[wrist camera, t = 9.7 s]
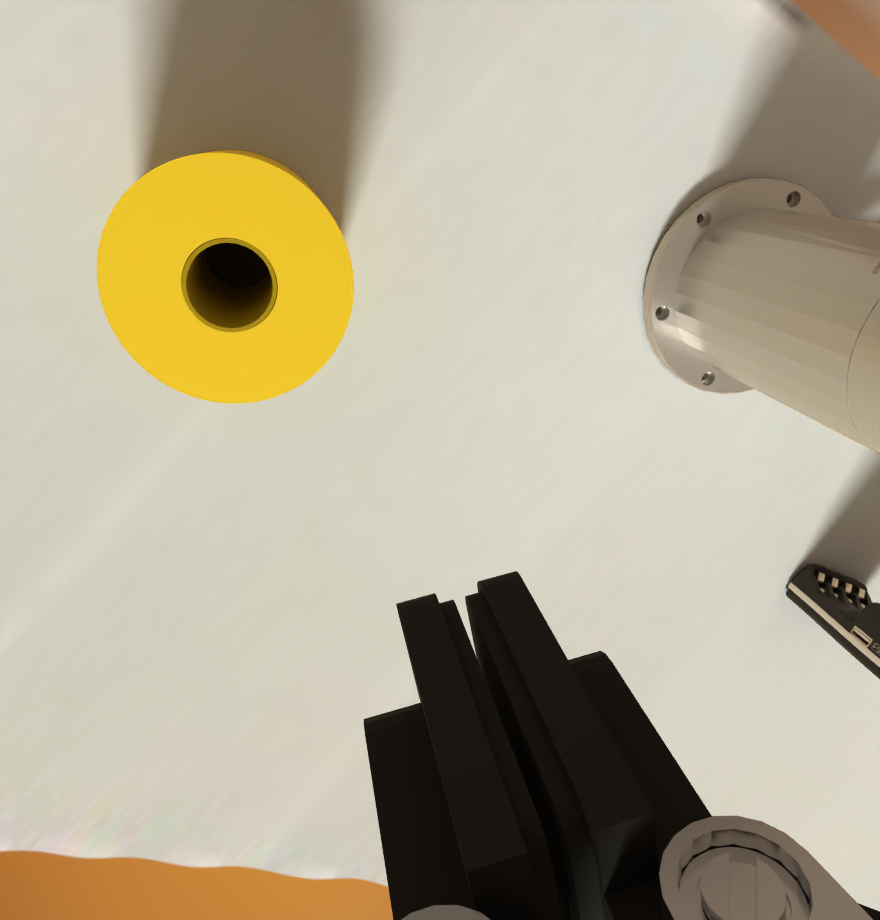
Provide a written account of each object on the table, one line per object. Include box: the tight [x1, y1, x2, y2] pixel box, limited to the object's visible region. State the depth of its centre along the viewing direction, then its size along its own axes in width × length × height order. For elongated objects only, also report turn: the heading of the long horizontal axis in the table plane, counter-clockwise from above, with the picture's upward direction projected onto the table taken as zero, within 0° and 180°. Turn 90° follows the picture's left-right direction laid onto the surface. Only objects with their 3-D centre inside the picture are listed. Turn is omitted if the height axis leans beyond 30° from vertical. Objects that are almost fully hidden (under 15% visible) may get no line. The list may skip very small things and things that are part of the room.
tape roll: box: [97, 150, 354, 403], centre depth 34 cm, size 10×10×9 cm
